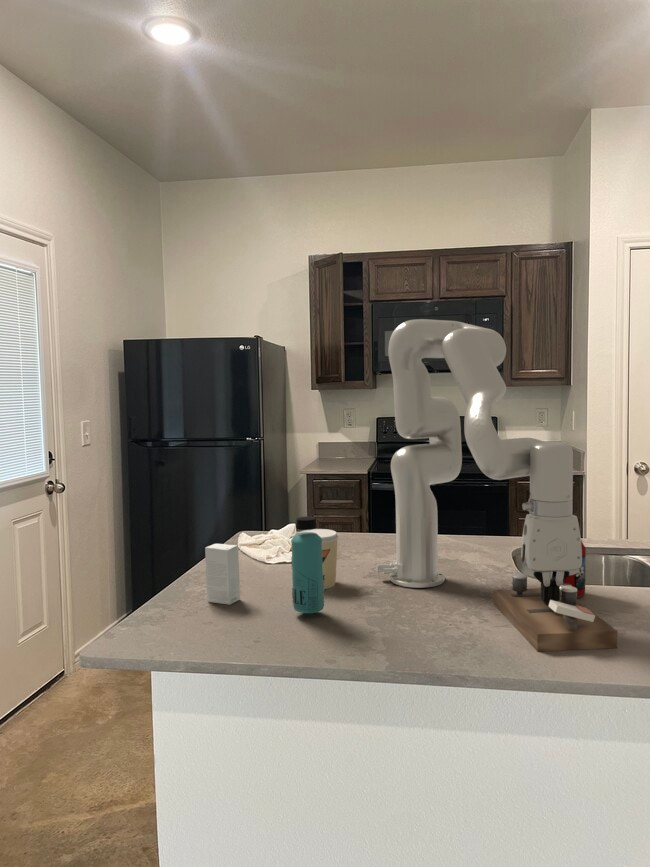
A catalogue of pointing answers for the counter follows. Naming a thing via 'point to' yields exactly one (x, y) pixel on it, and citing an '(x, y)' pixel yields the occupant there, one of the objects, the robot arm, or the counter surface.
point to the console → (552, 623)
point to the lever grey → (519, 583)
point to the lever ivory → (569, 595)
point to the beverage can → (579, 575)
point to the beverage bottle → (307, 568)
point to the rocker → (572, 610)
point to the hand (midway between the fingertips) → (550, 604)
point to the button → (564, 585)
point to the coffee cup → (328, 555)
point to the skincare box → (222, 573)
